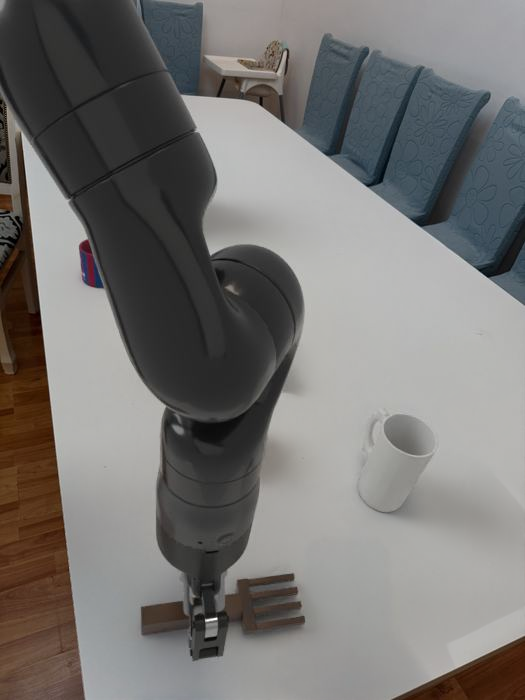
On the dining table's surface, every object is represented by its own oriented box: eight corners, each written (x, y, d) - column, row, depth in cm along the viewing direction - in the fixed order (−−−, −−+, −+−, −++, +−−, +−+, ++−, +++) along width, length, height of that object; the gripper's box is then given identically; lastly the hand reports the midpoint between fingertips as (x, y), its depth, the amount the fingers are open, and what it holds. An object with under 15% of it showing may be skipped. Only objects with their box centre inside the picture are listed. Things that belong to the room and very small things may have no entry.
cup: (80, 269, 96) (77, 238, 92) (133, 267, 100) (132, 236, 95) (83, 288, 92) (80, 256, 87) (138, 285, 95) (138, 254, 91)
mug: (415, 507, 66) (450, 449, 58) (373, 521, 63) (403, 463, 55) (374, 448, 72) (400, 390, 65) (335, 458, 70) (357, 399, 62)
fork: (141, 654, 48) (141, 644, 46) (141, 599, 52) (140, 589, 50) (302, 628, 52) (307, 618, 50) (291, 579, 56) (295, 568, 54)
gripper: (152, 430, 42) (153, 531, 52) (160, 604, 31) (159, 687, 42) (240, 425, 44) (224, 524, 54) (275, 587, 33) (246, 671, 43)
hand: (195, 595), depth 48 cm, fingers open, 8 cm apart
